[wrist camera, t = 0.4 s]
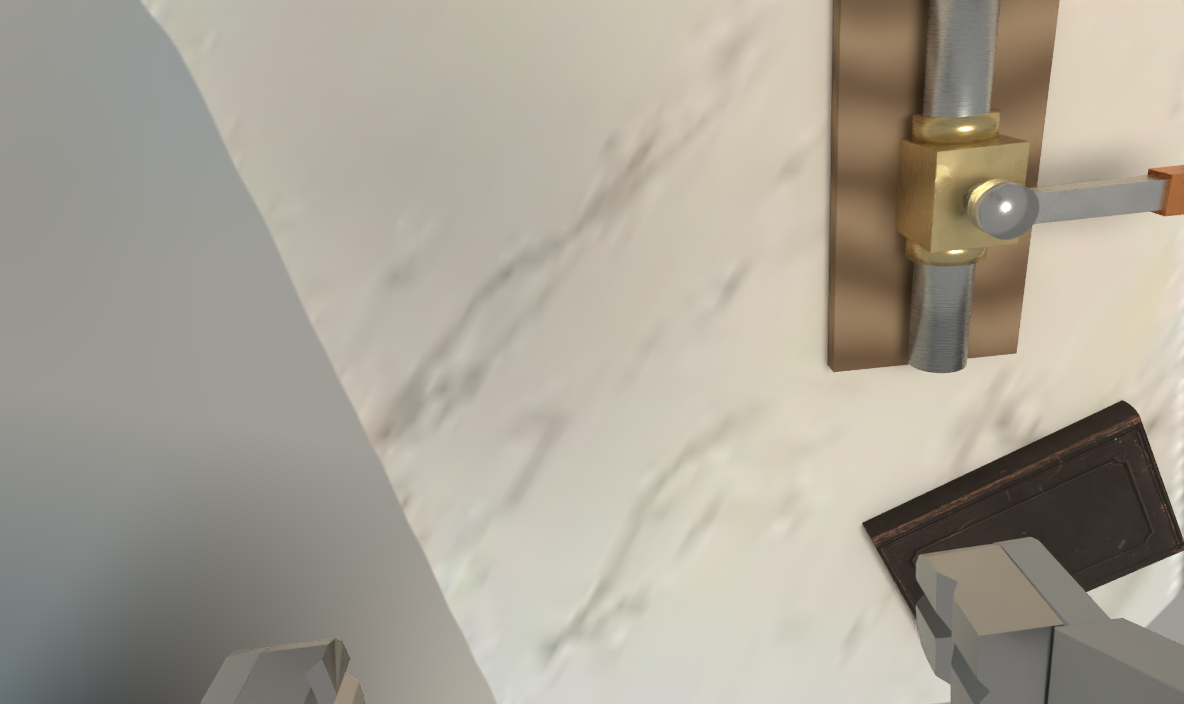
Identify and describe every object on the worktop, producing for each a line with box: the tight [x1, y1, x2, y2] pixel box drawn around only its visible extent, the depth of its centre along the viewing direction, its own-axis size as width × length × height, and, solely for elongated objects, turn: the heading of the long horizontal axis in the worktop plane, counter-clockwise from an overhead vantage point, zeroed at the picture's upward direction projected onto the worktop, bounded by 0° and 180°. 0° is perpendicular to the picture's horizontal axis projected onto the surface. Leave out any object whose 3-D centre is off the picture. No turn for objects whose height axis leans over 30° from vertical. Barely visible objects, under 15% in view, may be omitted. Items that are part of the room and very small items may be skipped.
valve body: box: [895, 0, 1030, 373], centre depth 50 cm, size 26×6×8 cm, turn 6°
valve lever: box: [967, 165, 1184, 240], centre depth 45 cm, size 17×3×2 cm, turn 96°
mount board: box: [828, 0, 1059, 372], centre depth 54 cm, size 28×14×2 cm, turn 6°
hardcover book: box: [863, 400, 1184, 619], centre depth 66 cm, size 16×23×2 cm
